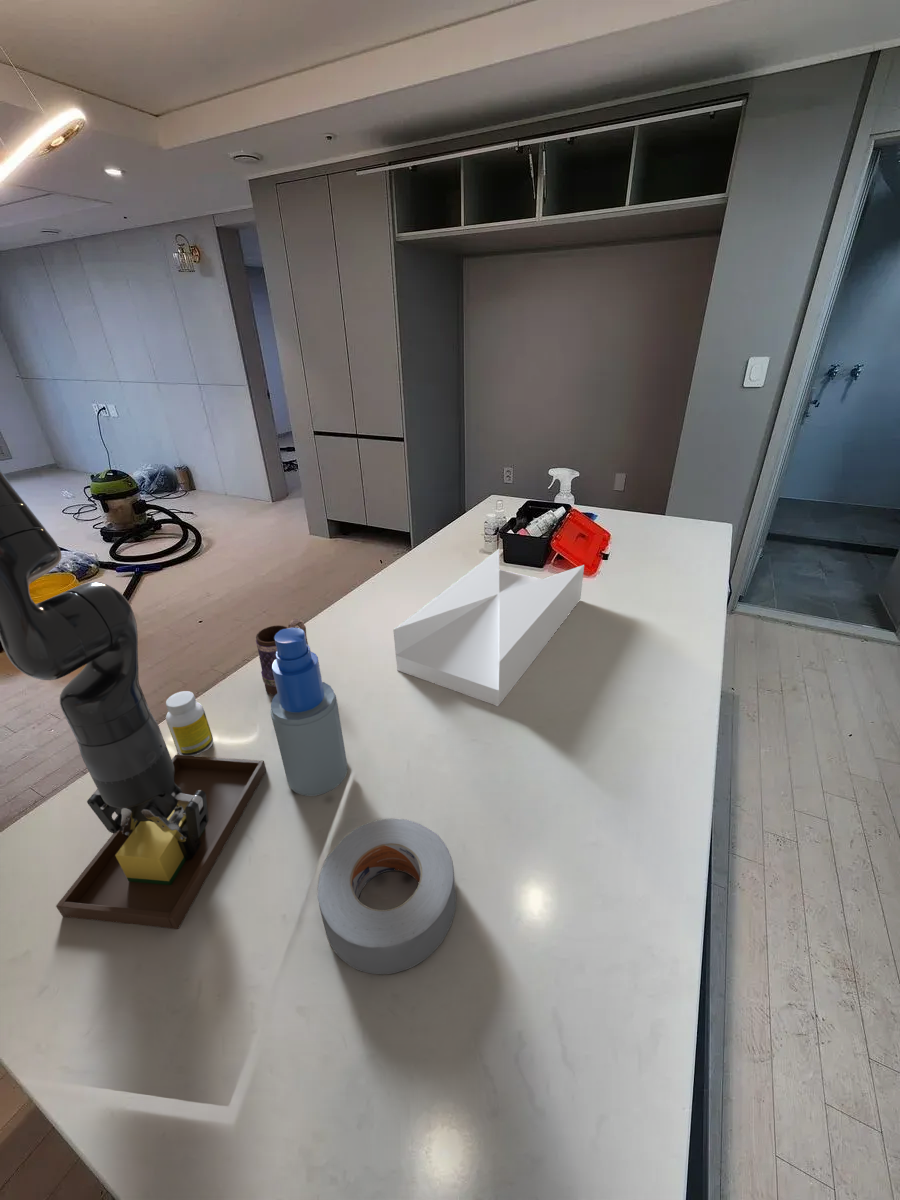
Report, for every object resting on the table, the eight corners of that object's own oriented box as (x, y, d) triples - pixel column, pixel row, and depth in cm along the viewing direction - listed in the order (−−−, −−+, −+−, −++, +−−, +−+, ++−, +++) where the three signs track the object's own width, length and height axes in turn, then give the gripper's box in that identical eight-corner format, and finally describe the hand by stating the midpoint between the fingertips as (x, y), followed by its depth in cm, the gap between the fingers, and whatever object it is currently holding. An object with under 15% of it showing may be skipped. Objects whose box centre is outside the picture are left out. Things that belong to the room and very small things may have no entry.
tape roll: (298, 902, 60) (290, 875, 57) (398, 822, 69) (396, 796, 67) (378, 1011, 50) (373, 984, 47) (482, 901, 59) (483, 874, 57)
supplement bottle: (221, 742, 83) (206, 694, 79) (191, 763, 79) (173, 715, 75) (200, 730, 86) (185, 684, 81) (170, 750, 82) (152, 703, 77)
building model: (498, 706, 90) (499, 661, 85) (397, 670, 100) (393, 628, 95) (580, 600, 123) (584, 564, 119) (498, 581, 134) (499, 547, 129)
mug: (280, 702, 92) (267, 647, 86) (257, 688, 96) (243, 634, 90) (324, 675, 99) (315, 622, 93) (301, 662, 103) (291, 611, 97)
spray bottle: (274, 783, 75) (237, 641, 64) (317, 745, 82) (290, 610, 70) (319, 808, 71) (288, 661, 60) (360, 766, 78) (339, 626, 66)
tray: (64, 919, 58) (55, 906, 57) (180, 767, 79) (175, 754, 78) (179, 932, 57) (173, 918, 56) (267, 773, 77) (264, 760, 76)
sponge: (128, 881, 62) (114, 855, 59) (167, 825, 69) (156, 799, 66) (171, 885, 61) (158, 859, 59) (205, 828, 68) (196, 802, 66)
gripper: (205, 733, 60) (237, 829, 68) (92, 727, 61) (136, 822, 69) (167, 784, 53) (207, 884, 61) (42, 775, 55) (97, 874, 63)
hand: (169, 850), depth 65 cm, fingers closed on sponge, 5 cm apart
